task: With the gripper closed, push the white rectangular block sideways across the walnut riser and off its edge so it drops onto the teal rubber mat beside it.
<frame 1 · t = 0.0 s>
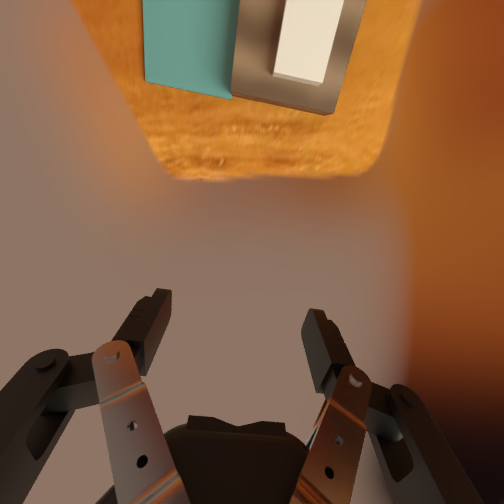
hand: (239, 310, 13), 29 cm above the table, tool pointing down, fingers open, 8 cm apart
white rectangular block: (307, 31, 26), point 5 cm above the table, touching riser
mat: (193, 20, 29), on the table
riser: (291, 44, 30), on the table
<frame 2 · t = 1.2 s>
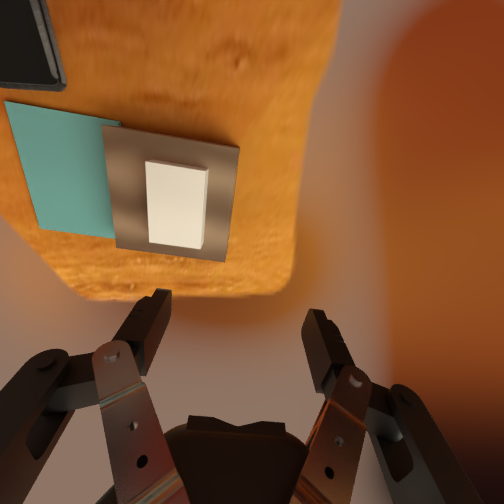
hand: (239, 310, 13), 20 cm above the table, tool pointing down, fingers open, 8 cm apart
white rectangular block: (177, 206, 26), point 5 cm above the table, touching riser
mat: (78, 179, 29), on the table
riser: (180, 195, 30), on the table
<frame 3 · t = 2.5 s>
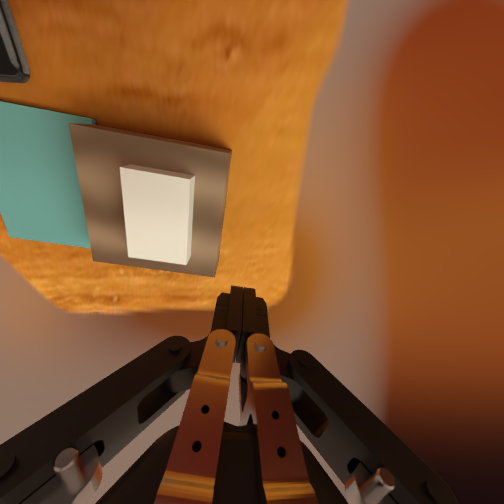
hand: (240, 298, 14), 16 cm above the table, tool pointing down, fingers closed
white rectangular block: (160, 217, 23), point 5 cm above the table, touching riser
mat: (49, 183, 26), on the table
riser: (166, 202, 27), on the table
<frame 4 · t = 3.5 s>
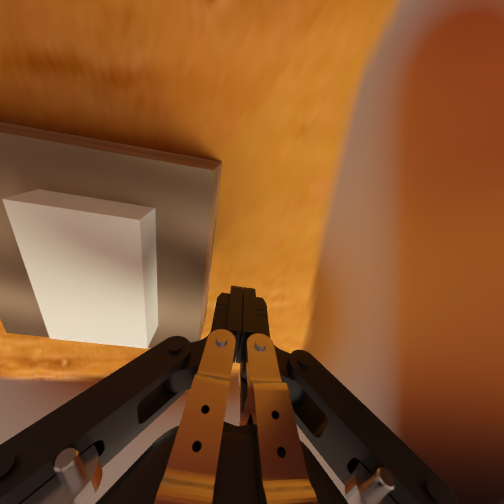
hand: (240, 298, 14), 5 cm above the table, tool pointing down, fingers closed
white rectangular block: (98, 277, 13), point 5 cm above the table, touching riser
riser: (123, 239, 18), on the table
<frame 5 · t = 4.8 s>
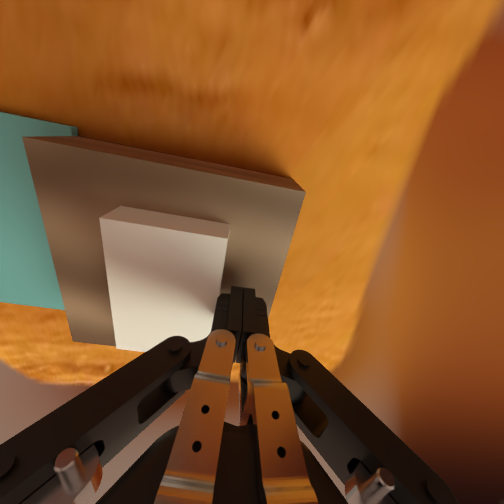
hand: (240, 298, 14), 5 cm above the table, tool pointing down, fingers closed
white rectangular block: (169, 290, 14), point 5 cm above the table, touching gripper, riser
mat: (8, 222, 17), on the table
riser: (184, 250, 18), on the table
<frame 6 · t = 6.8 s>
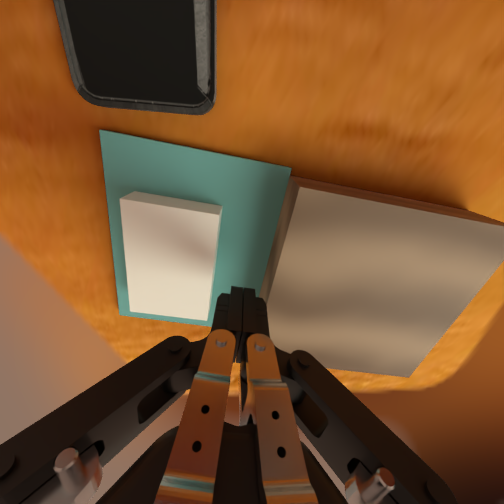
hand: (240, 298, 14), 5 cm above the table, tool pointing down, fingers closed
white rectangular block: (173, 261, 17), point 2 cm above the table, tilted 180°, touching mat
mat: (193, 250, 18), on the table
riser: (345, 274, 19), on the table
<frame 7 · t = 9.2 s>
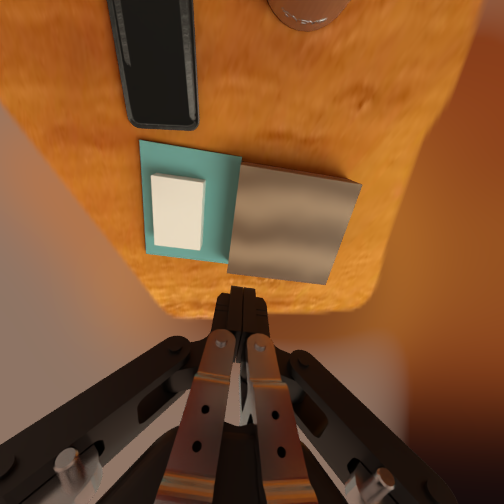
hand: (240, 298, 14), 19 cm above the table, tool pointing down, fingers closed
phone: (158, 47, 23), on the table
white rectangular block: (179, 213, 29), point 2 cm above the table, tilted 180°, touching mat
mat: (190, 208, 31), on the table
riser: (283, 222, 32), on the table
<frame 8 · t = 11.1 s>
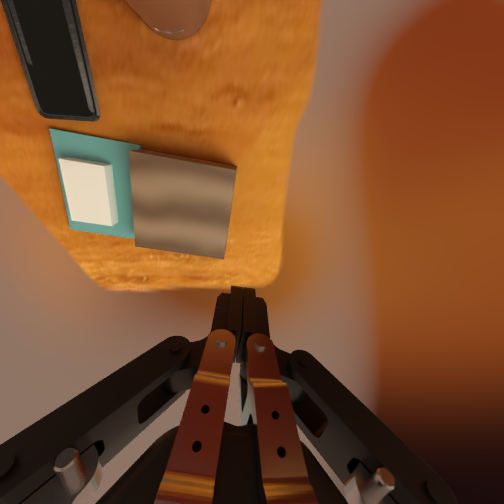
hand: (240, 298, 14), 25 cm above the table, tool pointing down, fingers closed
phone: (56, 50, 28), on the table
white rectangular block: (91, 193, 34), point 2 cm above the table, tilted 180°, touching mat
mat: (104, 189, 35), on the table
riser: (188, 203, 37), on the table
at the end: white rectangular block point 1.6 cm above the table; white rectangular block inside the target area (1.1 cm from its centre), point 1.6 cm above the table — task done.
